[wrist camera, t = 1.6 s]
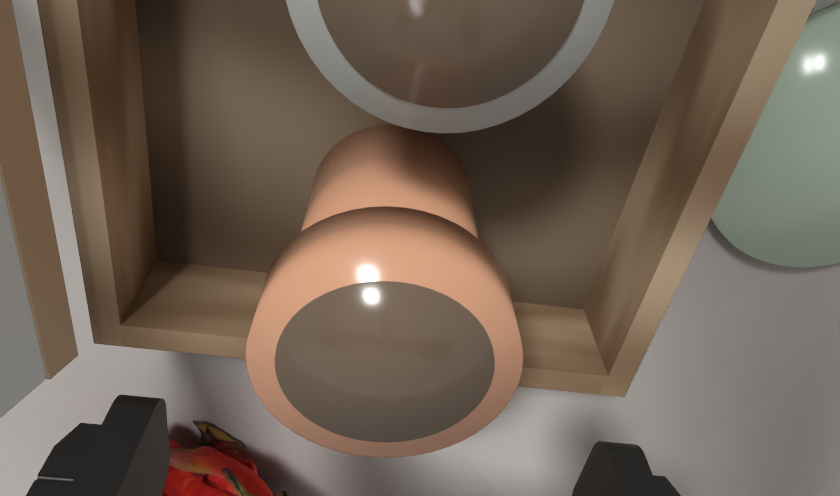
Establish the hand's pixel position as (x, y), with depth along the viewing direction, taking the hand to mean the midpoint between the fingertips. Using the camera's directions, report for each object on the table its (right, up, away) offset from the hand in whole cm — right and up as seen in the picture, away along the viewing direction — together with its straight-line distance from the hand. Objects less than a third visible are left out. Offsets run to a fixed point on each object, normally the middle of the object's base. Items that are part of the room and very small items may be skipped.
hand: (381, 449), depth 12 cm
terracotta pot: (0, +5, +8) cm, 9 cm away
